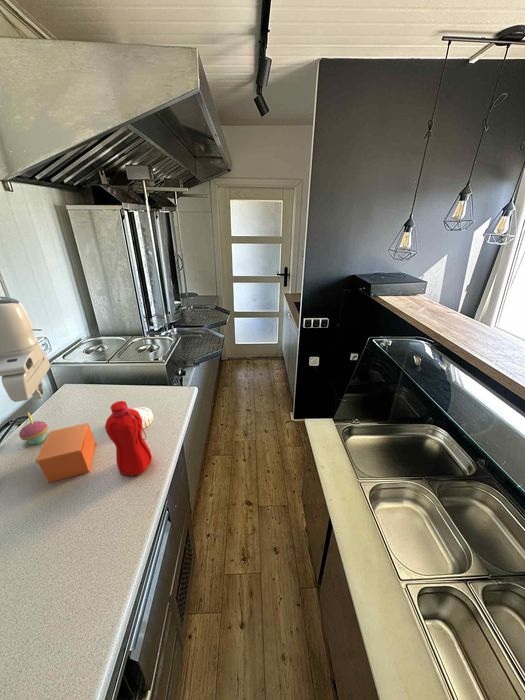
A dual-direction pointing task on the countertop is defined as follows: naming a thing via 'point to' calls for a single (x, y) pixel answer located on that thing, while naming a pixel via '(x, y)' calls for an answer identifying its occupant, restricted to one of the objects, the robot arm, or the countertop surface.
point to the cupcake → (34, 431)
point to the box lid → (63, 442)
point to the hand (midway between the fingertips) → (39, 396)
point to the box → (70, 461)
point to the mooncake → (145, 416)
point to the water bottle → (128, 439)
